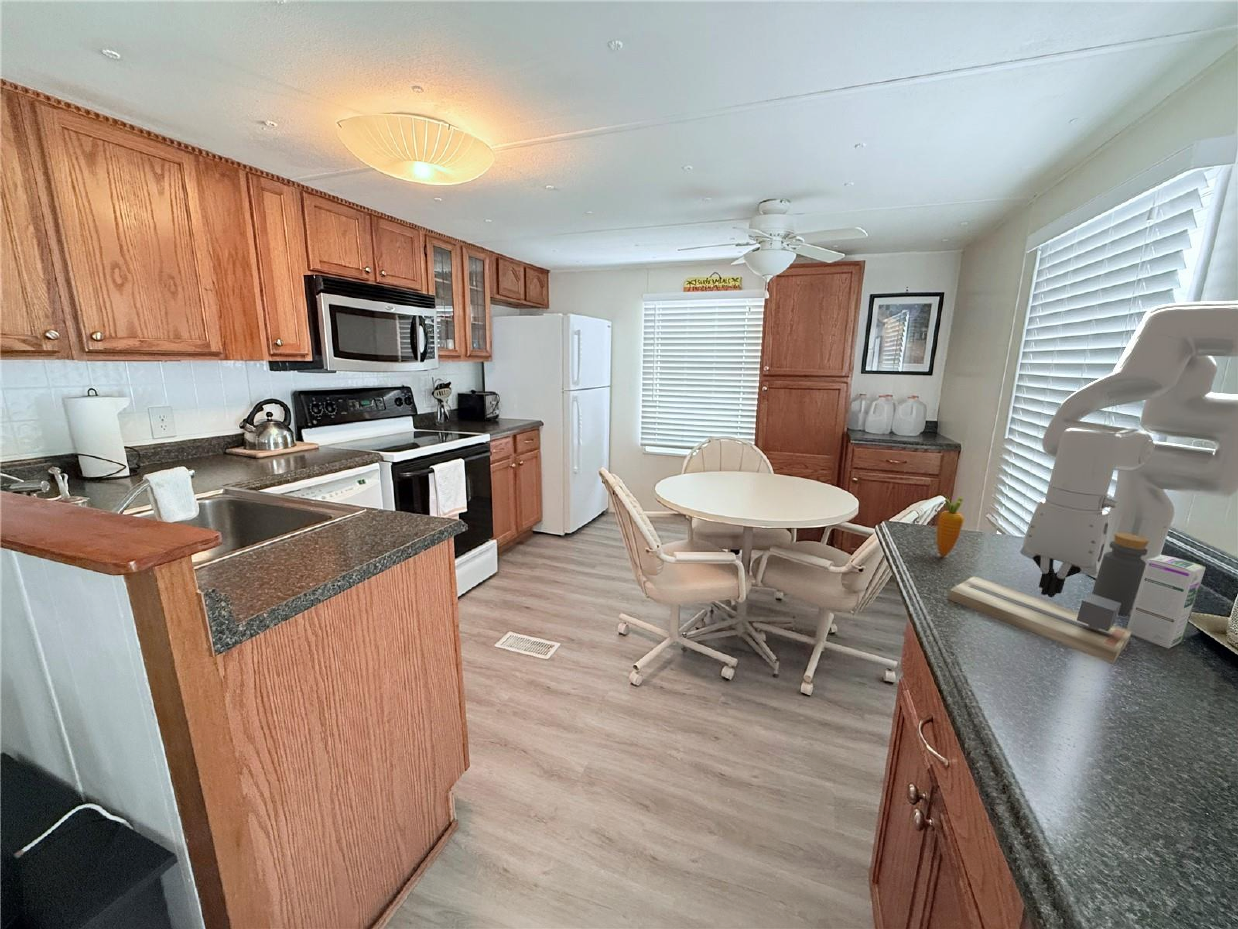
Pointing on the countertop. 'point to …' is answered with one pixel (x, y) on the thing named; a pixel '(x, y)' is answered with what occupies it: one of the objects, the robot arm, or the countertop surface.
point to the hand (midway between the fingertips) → (1048, 593)
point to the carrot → (949, 528)
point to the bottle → (1122, 571)
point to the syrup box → (1165, 600)
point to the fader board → (1040, 618)
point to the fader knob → (1098, 612)
